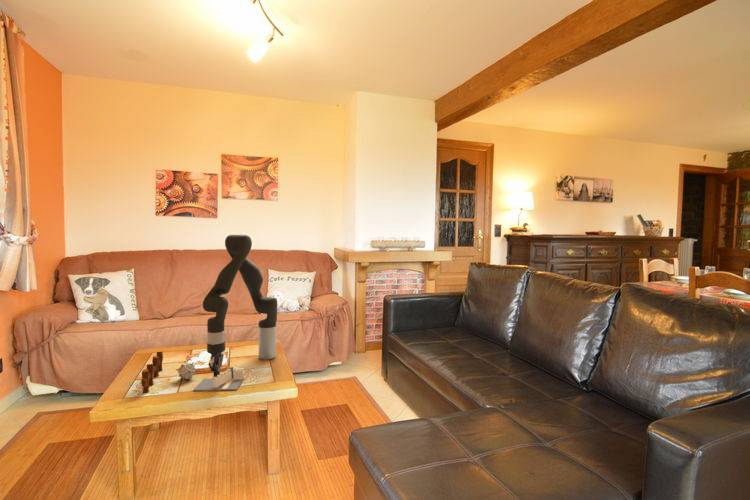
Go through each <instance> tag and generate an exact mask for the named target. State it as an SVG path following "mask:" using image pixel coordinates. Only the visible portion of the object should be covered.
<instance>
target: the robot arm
mask: <svg viewBox="0 0 750 500" xmlns="http://www.w3.org/2000/svg"><path fill="white" fill-rule="evenodd" d="M252 242H253V241H252V238H251V237H250V235H248V234H229V235H228V236H226V237H225V240H224V247H225V250H226V251H227V253H228V255H229V256H230V257H231V260H230V261H229V263H227V264H226V265H225V266H224V267H223V268H222V269H221V271H220V272H219V274H218V275H217V278H216V280H215V283H214V285H213V286H212V288H211V289H210V290H209V292H208V293H207V294H206V296H205V297H204V298H203V301H202V308H203V311H205V312H208V313H215V316H212V317H209V318H208V319H207V327H206V328H207V329H206V331H207V333H206V352H207V353H208V354H210V362H208V367H209V369H210V371H211V372H213V378H214V377H217V375H221V373H220V370H221V368H222V366H223V362H224V352H225V351H226V331H225V321H226V317H227V313H228V309H229V301H228V299H227V297H224V296H222V295H228V294H229V292H230V291H231V288H232V286H233V283H234V281H235V278H236V276H237V274H238V272H239V273H240V276H241V278H242V280H243V282H244V284H245V286H246V288H247V290H248V293H249V294H250V297H251V300H252V302H253V303H252V304H253V306H254V309H255V311H256V312H257V313H258V314H262V315H266V318H264V319H261V320H259V321H258V358H259V360H263V361H264V360H271V359H272V360H273V359H275V358H276V357H277V320H278V300H277V299H276V297H273V296H272V297H271V296H264V295H263V294H262V291H261V289H262V286H263V283H264V278H263V275H262V273H261V271H260V269H259V267H258V266H257V265H256V264H255V263H254V262H253V261H252V260H250V259H249V258H248V255H249V254H250V252H251V249H252V246H253V243H252Z"/></svg>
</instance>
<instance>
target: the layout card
mask: <svg viewBox="0 0 750 500" xmlns="http://www.w3.org/2000/svg"><path fill="white" fill-rule="evenodd" d="M213 380H214V377H213V378H212V377H211V378H209V377H208V378H203V379H202V380H201V381H200V382H199V383H198V384H197V385H196V386H195V387H194V388H193V389H192V392H220V391H221V392H222V391H223V392H228V391H233V392H235V391H238V389H239V388H240V386H241V385H242V384H243V382H244V381H245V378H244V379H234V377H233V378H232V379H231V380H229V381H227V382H225V383H224V384H222V385H220V386H219V387H217V388H213Z"/></svg>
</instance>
